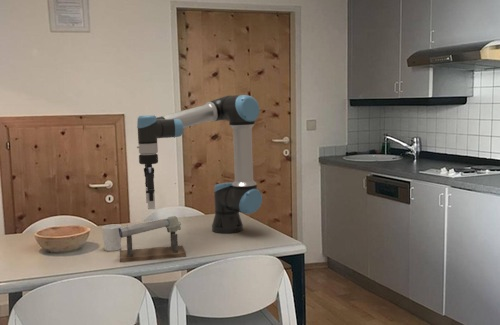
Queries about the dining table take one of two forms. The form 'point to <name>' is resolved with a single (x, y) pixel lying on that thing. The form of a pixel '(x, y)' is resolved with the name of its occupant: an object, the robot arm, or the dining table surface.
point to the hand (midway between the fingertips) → (150, 205)
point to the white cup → (111, 237)
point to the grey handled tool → (151, 226)
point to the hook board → (152, 251)
